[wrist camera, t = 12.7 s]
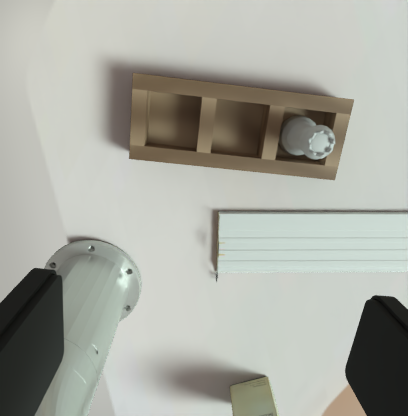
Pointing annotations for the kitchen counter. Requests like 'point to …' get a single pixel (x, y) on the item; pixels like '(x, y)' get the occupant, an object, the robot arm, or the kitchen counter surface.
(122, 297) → the robot arm
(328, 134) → the rook chess piece
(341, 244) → the baseboard
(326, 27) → the kitchen counter surface
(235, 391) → the skincare box
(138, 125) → the rack
